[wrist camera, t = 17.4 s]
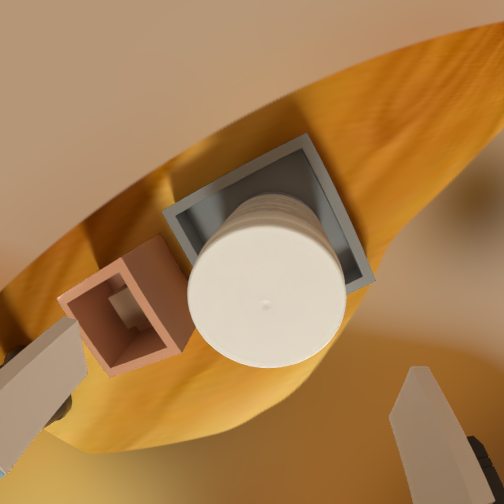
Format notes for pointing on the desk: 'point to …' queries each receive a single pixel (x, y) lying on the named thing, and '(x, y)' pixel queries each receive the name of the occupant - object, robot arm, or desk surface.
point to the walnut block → (127, 307)
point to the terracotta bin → (149, 299)
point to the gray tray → (273, 180)
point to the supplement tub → (268, 284)
